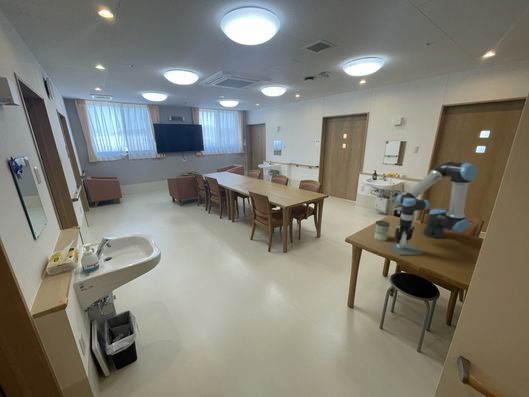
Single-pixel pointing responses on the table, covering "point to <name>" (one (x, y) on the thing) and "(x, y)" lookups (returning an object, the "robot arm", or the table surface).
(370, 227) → the table surface
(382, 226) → the coffee can
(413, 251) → the slate board
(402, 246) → the chalk stick
